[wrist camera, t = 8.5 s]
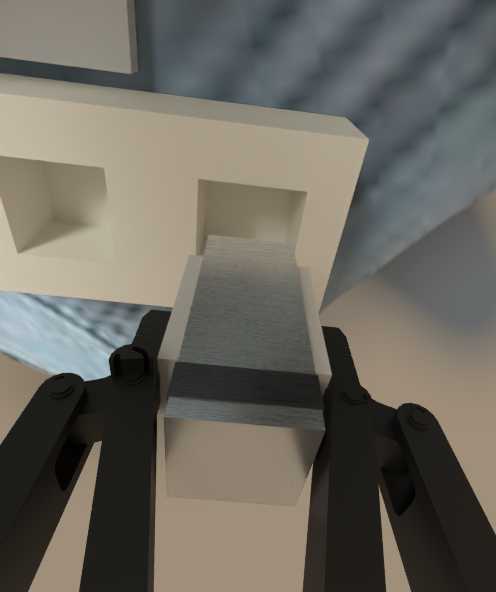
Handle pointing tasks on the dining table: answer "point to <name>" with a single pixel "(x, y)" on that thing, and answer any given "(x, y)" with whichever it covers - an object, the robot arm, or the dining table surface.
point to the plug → (244, 381)
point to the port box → (160, 186)
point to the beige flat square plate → (71, 33)
